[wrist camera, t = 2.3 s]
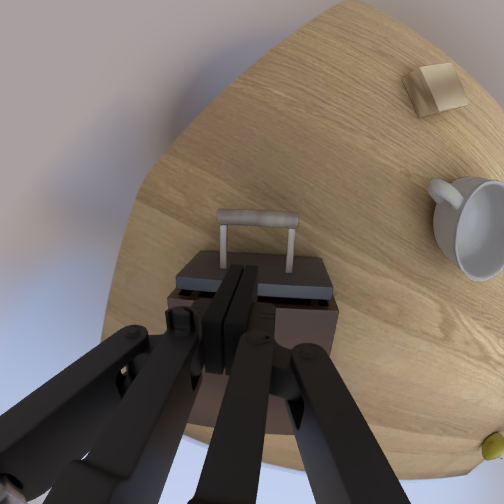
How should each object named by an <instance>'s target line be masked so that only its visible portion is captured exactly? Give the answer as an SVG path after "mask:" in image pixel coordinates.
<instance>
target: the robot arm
mask: <svg viewBox="0 0 504 504" xmlns="http://www.w3.org/2000/svg"><path fill="white" fill-rule="evenodd" d="M258 271H259V266H254V265H246V266H245V269H244V265H239V264H231V265H230V267H229V269H228V271H227V273H226V275H225V277H224V278H223V280H222V282H221V284H220V286H219V288H218V290H217V292H216V294H215V295H214V297H213V299H206V298H199V299H198V300H196V301H194V302H193V303H192V305H191V307H188V306H176V307H172V308H169V309H168V310H166V311H165V315H166V323H167V330H166V332H165V333H164V334H162V335H148V331H147V329H146V328H145V327H143V326H139V325H130V326H126V327H124V328H122V329H120V330H119V331H117V332H116V333H114V334H113V335H112V336H110V337H109V338H107V339H106V340H105V341H103V342H102V343H100V344H99V345H98V346H96V347H95V348H93V349H92V350H91V351H89V352H88V353H86V354H85V355H84V356H82V357H81V358H79V359H78V360H77V361H75V362H74V363H72V364H71V365H69V366H68V367H67V368H65V369H64V370H63V371H61V372H60V373H58V374H57V375H56V376H54V377H53V378H51V379H50V380H49V381H47V382H46V383H45V384H43V385H42V386H41V387H39V388H38V389H36V390H35V391H33V392H32V393H31V394H29V395H28V396H27V397H25V398H24V399H23V400H21V401H20V402H19V403H17V404H16V405H14V406H13V407H12V408H10V409H9V410H8V411H6V412H5V413H4V414H2V415H1V416H0V504H28V503H27V502H28V501H31V500H33V499H35V498H37V497H39V496H41V495H42V494H44V493H45V492H46V491H48V490H49V489H50V488H51V487H52V488H51V490H50V492H49V493H48V495H47V497H46V499H45V500H44V502H43V504H158V502H159V499H160V496H161V494H162V491H163V488H164V485H165V482H166V480H167V477H168V474H169V471H170V468H171V466H172V463H173V460H174V457H175V455H176V452H177V449H178V446H179V443H180V441H181V438H182V435H183V432H184V430H185V427H186V424H187V421H188V419H189V416H190V413H191V410H192V408H193V405H194V402H195V399H196V396H197V394H198V391H199V388H200V385H201V383H202V378H203V376H202V369H203V367H204V364H205V373H212V374H219V375H223V372H224V368H225V375H227V376H229V379H228V382H227V386H226V389H225V393H224V396H223V400H222V403H221V407H220V410H219V414H218V417H217V421H216V424H215V428H214V431H213V435H212V438H211V441H210V445H209V448H208V452H207V455H206V459H205V462H204V465H203V469H202V472H201V475H200V479H199V482H198V485H197V489H196V492H195V495H194V497H193V498H192V499H191V500H189V502H188V503H187V504H256V497H257V490H258V483H259V476H260V468H261V460H262V453H263V444H264V436H265V427H266V418H267V409H268V400H269V394H271V395H274V396H277V397H280V398H283V399H284V400H285V405H286V409H287V412H288V415H289V419H290V422H291V425H292V428H293V432H294V435H295V438H296V441H297V445H298V448H299V451H300V454H301V457H302V461H303V464H304V467H305V470H306V473H307V476H308V480H309V483H310V486H311V489H312V492H313V495H314V498H315V501H316V504H411V503H410V501H409V499H408V497H407V495H406V493H405V492H404V490H403V488H402V486H401V484H400V482H399V480H398V479H397V477H396V475H395V473H394V471H393V469H392V468H391V466H390V464H389V462H388V460H387V458H386V457H385V455H384V453H383V451H382V449H381V448H380V446H379V444H378V442H377V440H376V439H375V437H374V435H373V433H372V431H371V430H370V428H369V426H368V424H367V422H366V421H365V419H364V417H363V415H362V413H361V412H360V410H359V408H358V406H357V405H356V403H355V401H354V399H353V397H352V396H351V394H350V392H349V390H348V389H347V387H346V385H345V383H344V382H343V380H342V378H341V376H340V375H339V373H338V371H337V369H336V368H335V366H334V364H333V362H332V361H331V359H330V357H329V355H328V354H327V352H326V351H325V349H324V348H323V347H321V346H319V345H317V344H313V343H302V344H298V345H296V346H294V347H293V349H288V348H285V347H283V346H281V345H279V344H278V343H277V342H276V340H275V338H274V333H275V318H276V308H275V306H274V305H273V304H272V303H262V302H257V295H258ZM123 367H126V370H127V371H126V372H125V373H123V374H122V373H121V369H122V368H123ZM89 451H90V452H89ZM88 452H89V453H88ZM87 453H88V455H87V456H86V457H85V458H84V459H83V460H81V459H82V458H83V457H84V456H85V455H86V454H87Z"/></svg>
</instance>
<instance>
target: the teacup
mask: <svg viewBox="0 0 504 504" xmlns="http://www.w3.org/2000/svg"><path fill="white" fill-rule="evenodd" d="M427 191H428V193H429V195H430V196H431V197H432V198H433V199H434V201H435V202H436V203H437V204H436V207H435V211H434V217H433V229H434V235H435V239H436V241H437V244H438V246H439V248H440V249H441V251H442V252H443V254H444V255H445V256H446V257H447V258H448V259H449V260H450V261H451V262H452V263H453V264H454V265H456V266H457V267H458V268H459V269H460V270H461V271H462V272H463V274H464V275H465V276H466V277H468V278H469V279H471V280H474V281H486V280H489V279H491V278H493V277H495V276H496V275H497V274H499V273H500V272H501V271H502V270H503V269H504V183H503V182H501V181H498V180H488V179H484V178H479V177H463V178H459V179H456V180H455V181H453V182H451V183H450V184H449V183H447V182H445V181H443V180H441V179H438V178H433V179H432V180H431V181H430V182H429V184H428V187H427Z"/></svg>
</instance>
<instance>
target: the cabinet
mask: <svg viewBox="0 0 504 504" xmlns="http://www.w3.org/2000/svg"><path fill="white" fill-rule="evenodd" d="M193 291H194V290H185V289H177V288H175V289H174V290H173V292H172V293H171V294H170V295H169V296H168V297H167V301H168V309H169V308H172V307H176V306H188V307H191V305H192V303H193V302H194V301H196V300H198V299H199V298H201V297H192V296H190V295H191V294H192V292H193ZM206 299H212V298H206ZM318 302H319V306H309V305H290V304H274V303H272V304H273V305H274V306H275V308H276V318H275V333H274V338H275V340H276V342H277V343H278V344H279V345H281V346H283V347H285V348H288V349H293V347H294V346H296V345H298V344H302V343H313V344H317V345H319V346H321V347H323V348H324V349H325V351H326V352H327V354H328V355H329V357H330V352H331V348H332V343H333V339H334V334H335V329H336V324H337V319H338V314H339V310H338V307H337V304H336V301H335V298H334V296H333V293H332V299H331V300H321V299H318ZM202 376H203V378H202V383H201V385H200V388H199V391H198V394H197V396H196V399H195V402H194V405H193V408H192V410H191V413H190V416H189V419H188V421H187V423H190V424H195V425H201V426H207V427H213V428H215V424H216V421H217V417H218V414H219V410H220V407H221V403H222V400H223V396H224V393H225V389H226V386H227V382H228V379H229V376H227V375H225V368H224V372H223V375H219V374H212V373H205V364H204V367H203V369H202ZM265 434H281V435H294V432H293V428H292V425H291V422H290V419H289V415H288V412H287V409H286V405H285V400H284V399H283V398H280V397H277V396H274V395H271V394H269V400H268V409H267V418H266V427H265Z"/></svg>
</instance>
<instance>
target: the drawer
mask: <svg viewBox="0 0 504 504" xmlns="http://www.w3.org/2000/svg"><path fill="white" fill-rule="evenodd" d="M217 223H218V224H221V225H220V252H213V251H200V252H199V253H198V254H197V255H196V256H195V257H194V258H193V259H192V260H191V261H190V262H189V263H188V264H187V265H186V266H185V267H184V268H183V269H182V270H181V271H180V272H179V273H178V274H177V275H176V288H177V289H185V290H194V291H193V292H192V294H191V295H190V296H192V297H201V298H212V299H213V297H214V295H215V294H216V292H217V290H218V288H219V286H220V284H221V282H222V280H223V278H224V277H225V275H226V273H227V271H228V269H229V267H230V265H231V264H239V265H244V269H245V266H246V265H254V266H259V271H258V295H257V302H262V303H274V304H290V305H309V306H319V302H318V299H321V300H331V299H332V293H333V285H332V283H331V280H330V278H329V275H328V273H327V270H326V268H325V265H324V263H323V260H322V258H311V257H295V256H294V242H295V228H298V223H299V213H298V212H286V211H268V210H247V209H221V208H219V209H218V211H217ZM228 225H246V226H265V227H283V228H288V242H287V256H278V255H262V254H246V253H229V252H227V241H228Z"/></svg>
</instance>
